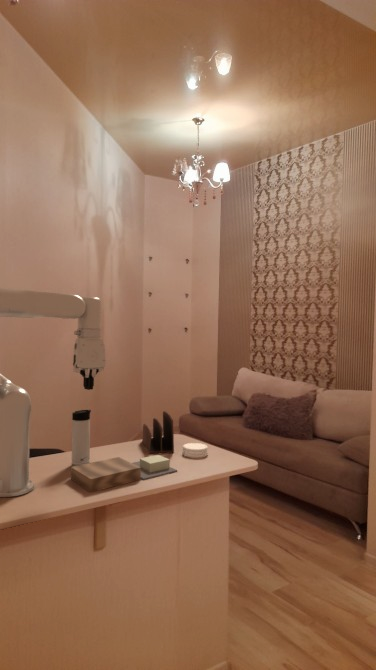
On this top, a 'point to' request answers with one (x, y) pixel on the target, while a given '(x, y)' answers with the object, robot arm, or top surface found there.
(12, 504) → the top surface
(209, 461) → the top surface
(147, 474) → the mat
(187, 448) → the white short cylinder
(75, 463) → the travel mug
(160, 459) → the tile
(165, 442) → the letter holder
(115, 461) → the riser
